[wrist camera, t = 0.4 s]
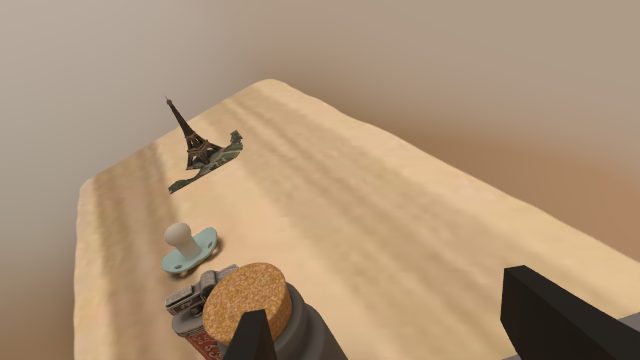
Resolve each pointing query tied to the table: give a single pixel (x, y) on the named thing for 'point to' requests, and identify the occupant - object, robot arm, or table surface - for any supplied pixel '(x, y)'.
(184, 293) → the lighter
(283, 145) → the table surface
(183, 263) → the pacifier
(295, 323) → the bottle
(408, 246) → the table surface
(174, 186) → the eiffel tower figurine
